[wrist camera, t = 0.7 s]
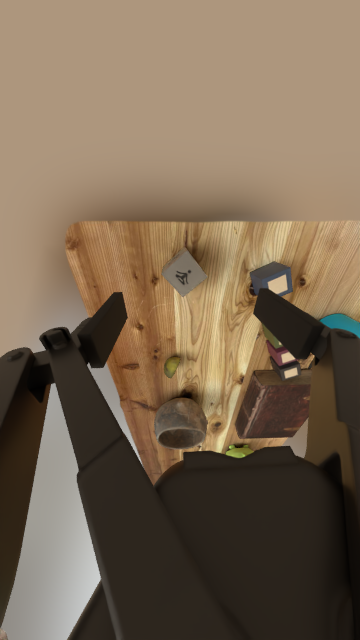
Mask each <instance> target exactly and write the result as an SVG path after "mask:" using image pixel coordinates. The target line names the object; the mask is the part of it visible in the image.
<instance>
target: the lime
mask: <svg viewBox="0 0 360 640" xmlns="http://www.w3.org/2000/svg"><path fill="white" fill-rule="evenodd" d="M180 360H181V359H180V358H178V357H171V358H169V359H168V360H167V361H166V363H165V365H164V373H165V375H166V376H167V377H168V378H172V377H173V375H174V374H175V371H176V369H177V367H178V364H179V363H180Z"/></svg>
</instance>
